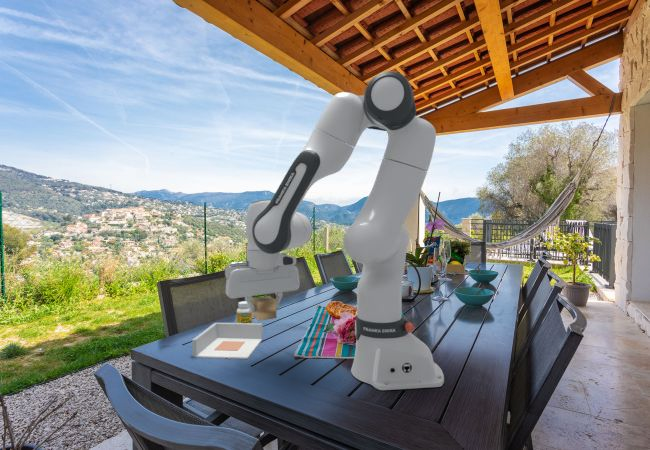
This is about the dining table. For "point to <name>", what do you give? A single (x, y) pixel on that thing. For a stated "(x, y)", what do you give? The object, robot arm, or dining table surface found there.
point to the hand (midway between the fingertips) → (264, 310)
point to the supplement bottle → (244, 313)
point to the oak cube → (264, 308)
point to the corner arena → (228, 340)
